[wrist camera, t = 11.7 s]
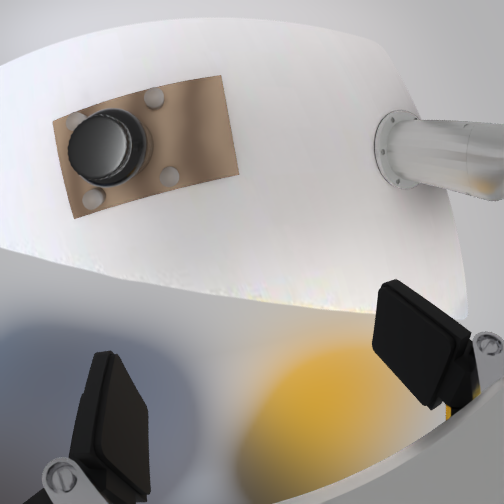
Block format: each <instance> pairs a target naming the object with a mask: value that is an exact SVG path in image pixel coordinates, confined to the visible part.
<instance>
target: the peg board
mask: <svg viewBox="0 0 504 504" xmlns="http://www.w3.org/2000/svg"><path fill="white" fill-rule="evenodd" d="M107 108H119V109H123V110H126V111H128V112H130V113H132V114H133V115H135V116H136V117H137V118H138V119H139V120H140V121H142V122H143V123H144V124H145V125H146V126H147V127H148V129H149V130H150V132H151V134H152V137H153V142H154V150H153V155H152V158H151V160H150V162H149V164H148V165H147V166H146V168H145V169H144V170H143V171H142V172H140V173H139V174H138V175H136V176H135V177H133V178H131V179H130V180H128V181H127V182H125V183H123V184H121V185H118V186H115V187H110V188H102V187H97V186H93V185H91V184H89V183H87V182H86V181H85V180H84V179H82V178H81V177H80V175H78V174H77V172H76V171H74V170H73V167H72V166H71V165H70V162H69V160H68V158H69V156H68V154H67V153H68V148H67V147H68V145H69V140H70V137H71V134H72V133H73V131H74V129H75V128H77V126H78V124H80V123H81V122H82V121H83V120H85V119H86V118H88V117H89V116H90V115H92V114H93V113H95V112H97V111H100V110H103V109H107ZM53 127H54V133H55V139H56V145H57V151H58V156H59V161H60V166H61V170H62V175H63V179H64V183H65V187H66V191H67V195H68V199H69V203H70V206H71V210H72V213H73V217H74V219H76V218H79V217H82V216H85V215H88V214H91V213H94V212H98V211H101V210H104V209H107V208H110V207H114V206H117V205H120V204H124V203H127V202H130V201H134V200H137V199H141V198H144V197H148V196H152V195H155V194H159V193H163V192H167V191H170V190H174V189H178V188H182V187H186V186H190V185H195V184H199V183H203V182H207V181H212V180H216V179H221V178H225V177H230V176H235V175H239V171H238V165H237V160H236V154H235V149H234V143H233V138H232V132H231V127H230V121H229V116H228V110H227V105H226V99H225V94H224V88H223V83H222V77H221V75H220V76H213V77H206V78H200V79H194V80H188V81H183V82H178V83H173V84H168V85H164V86H159V87H154V88H150V89H147V90H143V91H139V92H135V93H132V94H128V95H125V96H121V97H118V98H115V99H112V100H108V101H105V102H102V103H99V104H96V105H93V106H91V107H88V108H85V109H82V110H80V111H77V112H73V113H71V114H69V115H67V116H64V117H62V118H59V119H57V120H55V121H53Z"/></svg>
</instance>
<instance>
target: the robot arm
mask: <svg viewBox="0 0 504 504" xmlns="http://www.w3.org/2000/svg"><path fill="white" fill-rule="evenodd" d="M375 155H376V160H377V164H378V166H379V169H380V171H381V173H382V175H383V176H384V178H385V179H386V180H387V181H388V182H389V183H390V184H391V185H393V186H395V187H397V188H401V189H411V188H413V187H415V186H417V185H418V184H419V183H423V184H428V185H432V186H436V187H440V188H444V189H448V190H452V191H455V192H459V193H463V194H466V195H470V196H474V197H477V198H481V199H484V200H488V201H499V200H502V199H504V124H492V123H481V122H467V121H445V120H420V119H419V118H418V117H417V116H415V115H414V114H412V113H410V112H408V111H395V112H391V113H390V114H388V115H387V116H386V117H385V118H384V119H383V120H382V122H381V123H380V125H379V127H378V130H377V134H376V138H375ZM470 336H471V332H470V331H468V330H467V329H466V328H465V327H463V326H462V325H461V324H459V323H458V322H457V321H455V320H454V319H453V318H451V317H450V316H449V315H447V314H446V313H444V312H443V311H442V310H440V309H439V308H438V307H436V306H435V305H433V304H432V303H431V302H429V301H428V300H426V299H425V298H423V297H422V296H421V295H419V294H418V293H416V292H415V291H413V290H412V289H411V288H409V287H408V286H406V285H405V284H403V283H402V282H400V281H399V280H397V279H394V280H392V281H389V282H386V283H383V284H382V286H381V288H380V289H379V291H378V300H377V309H376V318H375V326H374V334H373V340H372V347H373V350H374V351H375V353H376V354H377V355H378V356H379V357H380V358H381V359H382V361H383V362H384V363H385V364H386V365H387V366H388V367H389V368H390V369H391V370H392V371H393V373H394V374H395V375H396V376H397V377H398V378H399V379H400V380H401V381H402V383H403V384H404V385H405V386H406V387H407V388H408V389H409V390H410V391H411V393H412V394H413V395H414V396H415V397H416V398H417V399H418V400H419V402H420V403H421V404H422V405H424V406H428V407H429V409H430V410H433V409H434V408H436V407H437V406H439V405H440V404H441V403H442V401H443V402H444V403H445V404H446V421H445V422H443V423H442V424H441V425H439V426H438V427H437V428H435V429H433V430H432V431H431V432H429V433H428V434H426V435H425V436H423V437H422V438H420V439H418V440H417V441H415V442H414V443H412V444H410V445H409V446H407V447H405V448H404V449H402V450H400V451H399V452H397V453H395V454H393V455H392V456H390V457H388V458H386V459H384V460H382V461H380V462H378V463H377V464H374V465H373V466H371V467H369V468H367V469H364V470H363V471H360V472H358V473H356V474H354V475H352V476H349V477H347V478H345V479H343V480H340V481H338V482H336V483H333V484H330V485H328V486H325V487H323V488H320V489H318V490H315V491H312V492H309V493H306V494H303V495H300V496H297V497H294V498H291V499H288V500H284V501H281V502H277V503H274V504H504V340H503V339H502V338H501V337H500V336H498V335H497V334H494V333H492V332H480V333H478V334H476V335H475V336H474V338H473V341H471V340H470V339H469V338H470ZM149 471H150V470H149V442H148V409H147V406H146V404H145V402H144V401H143V399H142V397H141V396H140V394H139V392H138V390H137V389H136V387H135V385H134V383H133V382H132V380H131V378H130V376H129V374H128V372H127V370H126V368H125V367H124V365H123V363H122V361H121V359H120V357H119V356H118V354H114V353H113V352H112V351H104V352H97V353H95V354H94V357H93V360H92V364H91V367H90V371H89V375H88V379H87V382H86V387H85V390H84V393H83V394H82V396H81V399H80V403H79V407H78V412H77V416H76V421H75V425H74V431H73V435H72V441H71V447H70V453H69V458H64V457H62V458H56V459H54V460H52V461H51V462H49V463H48V464H47V465H46V467H45V469H44V470H43V474H42V483H43V486H44V488H43V489H42V490H40V491H39V492H38V493H36V494H35V495H34V496H32V497H31V498H30V499H28V500H27V501H26V502H24V503H23V504H136V502H147V495H149V494H150V492H151V487H150V472H149Z"/></svg>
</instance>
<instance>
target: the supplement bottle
mask: <svg viewBox="0 0 504 504" xmlns="http://www.w3.org/2000/svg"><path fill="white" fill-rule="evenodd" d="M67 148H68V153H67V154H68V156H69V158H68V160H69V162H70V165H71V166H72V167H73V170H74V171H76V172H77V174H78V175H80V177H81V178H82V179H84V180H85V181H86V182H87V183H89V184H91V185H93V186H97V187H102V188H110V187H115V186H118V185H121V184H123V183H125V182H127V181H128V180H130V179H131V178H133V177H135V176H136V175H138V174H139V173H140V172H142V171H143V170H144V169H145V168H146V166H147V165H148V164H149V162H150V160H151V158H152V155H153V150H154V142H153V137H152V134H151V132H150V130H149V129H148V127H147V126H146V125H145V124H144V123H143V122H142V121H140V120H139V119H138V118H137V117H136V116H135V115H133V114H132V113H130V112H128V111H126V110H123V109H119V108H107V109H103V110H100V111H97V112H95V113H93V114H92V115H90V116H89V117H88V118H86V119H85V120H83V121H82V122H81V123H80V124H78V126H77V128H75V129H74V131H73V133H72V134H71V137H70V140H69V145H68V147H67Z"/></svg>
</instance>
